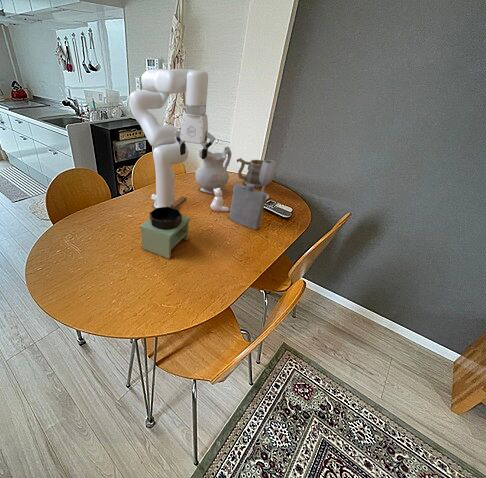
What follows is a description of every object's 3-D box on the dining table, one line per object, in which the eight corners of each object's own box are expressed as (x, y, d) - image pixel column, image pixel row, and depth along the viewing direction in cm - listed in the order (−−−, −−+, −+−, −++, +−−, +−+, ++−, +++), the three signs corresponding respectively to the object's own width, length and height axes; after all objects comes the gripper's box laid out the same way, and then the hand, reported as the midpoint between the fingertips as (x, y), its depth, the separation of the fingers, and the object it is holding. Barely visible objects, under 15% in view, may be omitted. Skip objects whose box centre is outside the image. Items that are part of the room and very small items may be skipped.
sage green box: (141, 248, 107) (139, 225, 101) (162, 230, 118) (161, 209, 112) (170, 259, 101) (170, 236, 95) (189, 239, 113) (190, 217, 106)
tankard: (265, 181, 169) (271, 159, 160) (262, 188, 159) (268, 165, 151) (235, 176, 175) (239, 154, 167) (231, 183, 166) (234, 160, 157)
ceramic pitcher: (212, 182, 169) (213, 142, 156) (236, 189, 157) (240, 147, 144) (189, 191, 157) (188, 149, 144) (213, 199, 145) (215, 154, 132)
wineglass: (271, 196, 150) (279, 160, 138) (266, 202, 144) (275, 165, 132) (256, 193, 154) (263, 158, 142) (251, 198, 148) (258, 162, 136)
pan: (144, 224, 102) (144, 213, 99) (172, 203, 117) (172, 193, 114) (170, 232, 97) (170, 222, 94) (196, 209, 112) (196, 200, 109)
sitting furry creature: (229, 211, 134) (232, 190, 127) (215, 214, 131) (217, 193, 125) (220, 204, 141) (223, 183, 134) (206, 206, 139) (208, 185, 132)
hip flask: (259, 227, 122) (269, 188, 110) (255, 231, 119) (264, 191, 108) (231, 216, 131) (237, 178, 119) (227, 218, 128) (232, 180, 117)
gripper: (170, 109, 96) (170, 155, 106) (213, 113, 89) (208, 162, 99) (180, 106, 102) (179, 150, 112) (221, 111, 95) (216, 157, 105)
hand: (193, 156), depth 105 cm, fingers open, 9 cm apart
